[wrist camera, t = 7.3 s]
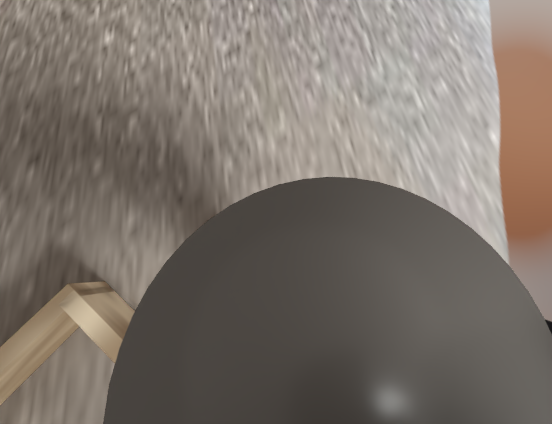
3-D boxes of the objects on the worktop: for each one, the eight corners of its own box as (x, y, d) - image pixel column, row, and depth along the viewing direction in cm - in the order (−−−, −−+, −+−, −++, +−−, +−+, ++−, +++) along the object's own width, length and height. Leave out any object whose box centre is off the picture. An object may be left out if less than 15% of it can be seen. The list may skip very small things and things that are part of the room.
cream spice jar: (330, 283, 16) (631, 328, 3) (286, 357, 14) (475, 949, 2) (265, 238, 16) (287, 109, 3) (218, 306, 15) (-21, 494, 2)
